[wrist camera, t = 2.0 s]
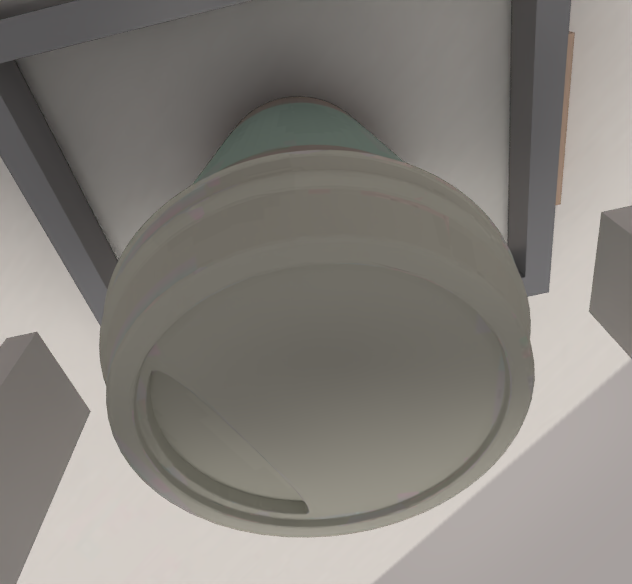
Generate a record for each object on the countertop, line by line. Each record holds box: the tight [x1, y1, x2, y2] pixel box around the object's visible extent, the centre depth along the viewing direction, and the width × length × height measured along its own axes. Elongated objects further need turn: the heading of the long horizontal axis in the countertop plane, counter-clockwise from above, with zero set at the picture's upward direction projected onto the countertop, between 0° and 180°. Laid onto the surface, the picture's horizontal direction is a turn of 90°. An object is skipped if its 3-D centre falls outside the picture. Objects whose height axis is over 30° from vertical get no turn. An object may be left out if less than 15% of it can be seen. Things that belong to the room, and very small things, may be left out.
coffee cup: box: [99, 97, 535, 537], centre depth 14 cm, size 9×8×12 cm
